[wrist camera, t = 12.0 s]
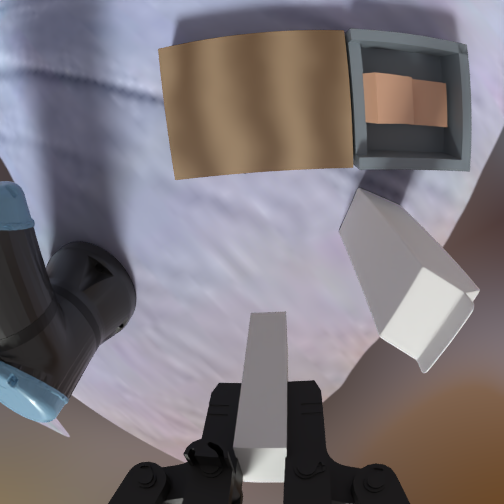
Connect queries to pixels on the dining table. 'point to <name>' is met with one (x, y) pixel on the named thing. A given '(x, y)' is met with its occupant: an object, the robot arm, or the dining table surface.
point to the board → (258, 103)
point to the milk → (406, 278)
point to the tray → (405, 135)
